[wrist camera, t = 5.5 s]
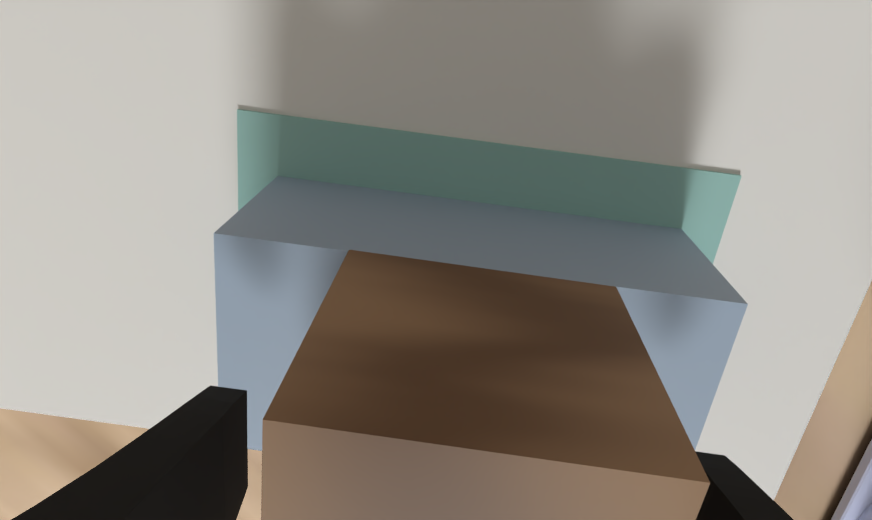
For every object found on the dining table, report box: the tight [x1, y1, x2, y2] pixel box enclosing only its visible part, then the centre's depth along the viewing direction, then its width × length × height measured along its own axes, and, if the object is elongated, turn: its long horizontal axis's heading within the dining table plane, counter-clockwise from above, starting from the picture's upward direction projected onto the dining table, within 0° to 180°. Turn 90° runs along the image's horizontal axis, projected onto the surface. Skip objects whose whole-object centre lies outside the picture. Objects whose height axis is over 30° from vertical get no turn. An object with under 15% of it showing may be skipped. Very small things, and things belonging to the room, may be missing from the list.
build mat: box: [0, 0, 872, 500], centre depth 15 cm, size 24×20×1 cm
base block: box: [214, 176, 748, 451], centre depth 14 cm, size 10×5×4 cm, turn 83°
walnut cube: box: [261, 250, 710, 520], centre depth 10 cm, size 5×5×5 cm
